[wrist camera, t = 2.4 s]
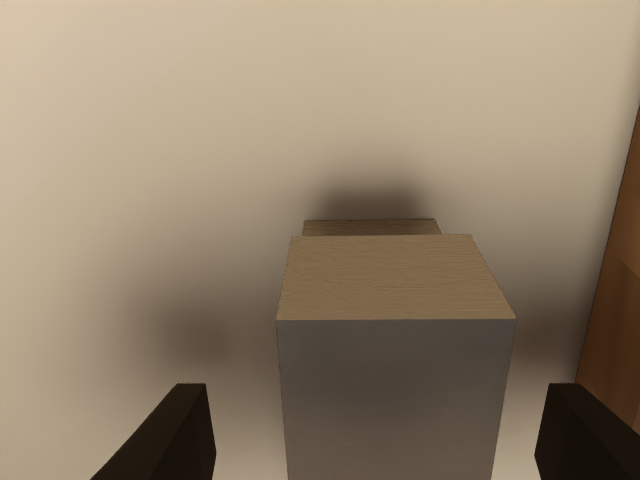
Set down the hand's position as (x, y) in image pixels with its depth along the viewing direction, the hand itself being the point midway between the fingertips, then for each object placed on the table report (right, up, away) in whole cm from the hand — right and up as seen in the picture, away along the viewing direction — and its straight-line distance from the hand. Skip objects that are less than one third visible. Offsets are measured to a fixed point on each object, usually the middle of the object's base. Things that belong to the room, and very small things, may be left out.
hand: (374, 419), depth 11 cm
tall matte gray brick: (0, +1, +2) cm, 3 cm away
